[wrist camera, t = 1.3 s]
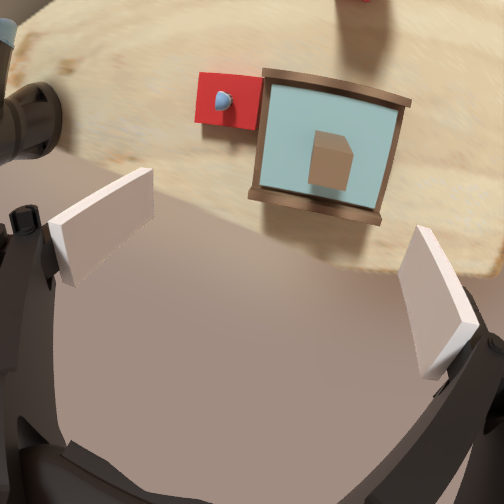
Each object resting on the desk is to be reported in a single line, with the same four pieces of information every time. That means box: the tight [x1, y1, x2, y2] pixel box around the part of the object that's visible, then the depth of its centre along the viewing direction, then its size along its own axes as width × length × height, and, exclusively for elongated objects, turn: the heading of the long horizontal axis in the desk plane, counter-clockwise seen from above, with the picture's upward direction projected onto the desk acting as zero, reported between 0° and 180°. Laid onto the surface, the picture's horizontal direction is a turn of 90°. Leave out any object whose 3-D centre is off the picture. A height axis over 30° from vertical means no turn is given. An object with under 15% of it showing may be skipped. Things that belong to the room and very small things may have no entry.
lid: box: [260, 84, 398, 208], centre depth 26 cm, size 13×11×10 cm
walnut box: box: [248, 68, 412, 226], centre depth 32 cm, size 15×14×9 cm
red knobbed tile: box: [195, 72, 265, 130], centre depth 34 cm, size 8×7×6 cm
